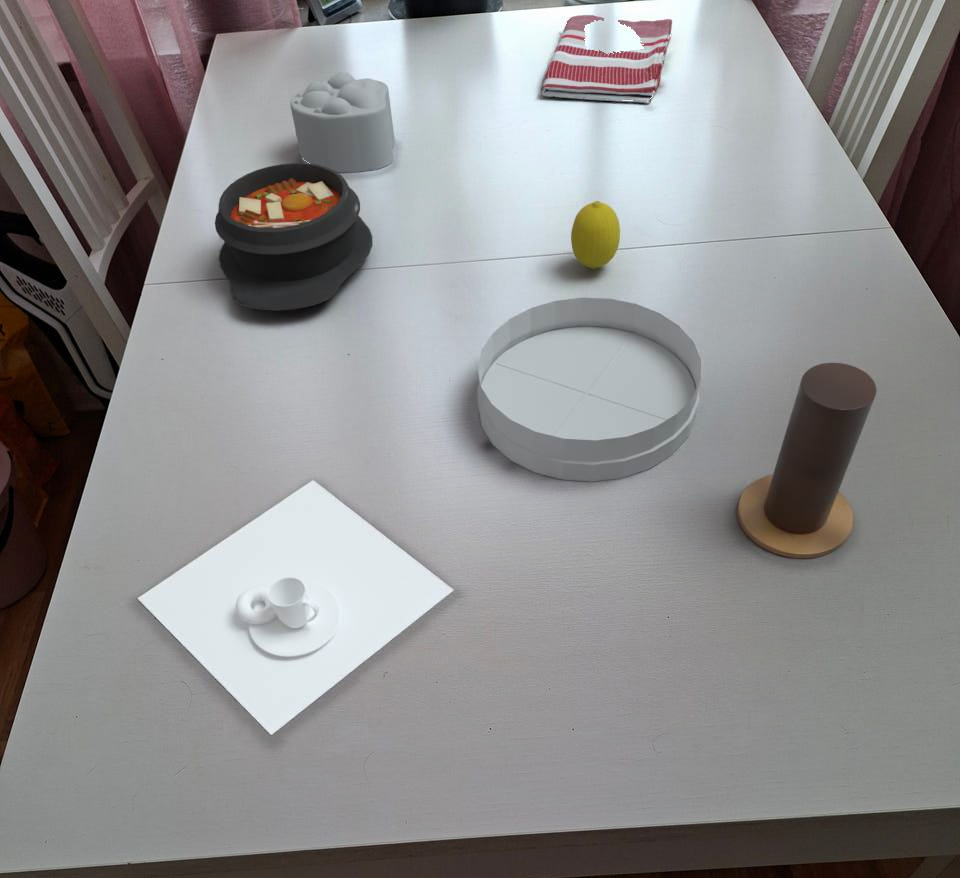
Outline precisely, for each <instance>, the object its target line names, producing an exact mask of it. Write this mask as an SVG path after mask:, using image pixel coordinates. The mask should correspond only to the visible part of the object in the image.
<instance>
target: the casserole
mask: <svg viewBox="0 0 960 878" xmlns="http://www.w3.org/2000/svg"><path fill="white" fill-rule="evenodd" d="M360 211H361V202H360V198H359V196H358V194H357V193H356V192H355V191H354V189H352V188H351V187H350V186H349V184H348V182H347V180H346V179H345V178H344V177H343V175H341V173H337V172H336V171H334V170H332V169H329V168H327V167H324V166H320V165H316V164H307V163H304V162H290V163H280V164H274V165H270V166H266V167H262V168H259V169H256V170H253V171H251V172H249V173H246V174H245V175H243V176H241V177H239V178H237V179H236V180H234V181H233V182H232V183H231V184H229V185H228V186H227V188H225V190H223V192H222V194H221V195H220V198H219V201H218V212H217V213H216V215H215V220H214V227H215V231H216V233H217V235H218V236H219V238H220V239H221V240H222V241H223V244H222V245H221V248H220V250H219V254H218V262H219V267H220V269H221V271H222V273H223V274H224V276H225V278H226V279H227V281H228V283H229V287H230V291H231V295H232V300H234V301H235V302H236V303H238V304H239V305H241V306H243V307H247V308H249V309H254V310H255V309H256V310H260V311H261V310H262V311H288V310H289V311H290V310H297V309H302V308H303V309H304V308H307V307H308V308H309V307H312V306H315V305H318V304H321V303H324V302H325V301H327V300H329V299H330V298H332V297H333V296H334V295H335V294H336V293H337V292H338V290H339V288H340V287H341V286H342V284H343V283H344V282H345V281H346V279H347V278H348V277H349V276H351V275H352V274H353V273H354V272H355V271H356V270H357V269H358V268H359V267H360V266H362V265H363V264H364V263H365V261H366V260H367V258H368V257H369V255H370V253H371V251H372V248H373V235H372V231H371V229H370V228H369V226H368V225H367V224H366V223H365V222H364V220H363V219H362V218H361V217H360V216H359V214H360Z"/></svg>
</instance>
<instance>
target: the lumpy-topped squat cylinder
mask: <svg viewBox="0 0 960 878" xmlns="http://www.w3.org/2000/svg"><path fill="white" fill-rule="evenodd" d="M389 92H390V90H389V86H388V85H387V84H386V83H385V82H383V81H380V80H376V79H373V78H360V79H359V78H358V79H355V78H354V76H353V75H352V74H350V73H348V72H346V71H340V72H337V73H335V74H333V75H332V76H331V77H329V79H328V80H327V81H325V80H315V81H313V82H310V83H309V84H308V85H307V87H306V88H305V89H304V90H301V91H300V92H298V93H296V94H295V95H294V96H293V97H292V98H291V99H290V104H289V107H290V111H291V115H292V121H293V125H294V130H295V135H296V139H297V144H298V149H299V153H300V158H301V161H302V163H307V162H309V163H310V164H316V165H320V166H324V167H327V168H329V169H332V170H334V171H336V172H337V173H339V174H341V173H343V174H344V173H359V172H367V171H376V170H380V169H382V168H385V167H388V166H389V165H391V164H392V162H394V152H393V150H394V148H395V144H396V141H395V140H396V139H395V138H396V137H395V130H394V122H393V116H392V106H391V99H390V98H391V97H390V93H389ZM301 156H302V157H301ZM302 158H304V160H306V161H307V162H306V161H304V160H303V159H302ZM309 163H307V164H309Z"/></svg>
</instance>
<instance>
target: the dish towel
mask: <svg viewBox="0 0 960 878" xmlns="http://www.w3.org/2000/svg"><path fill="white" fill-rule="evenodd" d="M569 18H570V19H569ZM569 18H568V19H569V20H568V19H567V20H568V21H567V20H566V22H567V24H566V23H565V24H566V26H565V25H564V28H563V31H562V34H561V37H560V39H559V41H558V44H557V46H556V48H555V50H554V53H553V55H552V57H551V60H550V63H549V64H548V66H547V68H546V71H545V74H544V77H543V85H542V86H541V90H540V94H541V96H545V97H550V98H551V97H553V96H555V97H553V98H563V99H564V98H565V99H577V100H590V101H610V102H623V103H641V104H642V103H643V104H651V102H652V100H653V99H654V97H655V95H656V94H657V91H658V88H659V87H660V84H661V80H662V79H661V78H662V72H663V71H662V70H663V67H664V65H665V60H666V56H667V54H668V47H669V44H670V40H671V39H672V36H671V37H670V34H671V35H672V29H673V27H672V26H673V20H672V19H671V18H666V19H658V20H657V19H656V20H638V21H631V20H630V21H629V20H624V19H617V20H618V22H620V24H622V25H624V24H625V25H626V26H627V27H628V26H629V27H631V29H633V30H634V31H635V32H636V34H637V35H638V36H639V37H640V38H641V39H640V41H642V42H640V43H641V44H644V45H642V46H643V47H644V49H640V50H630V51H625V52H624V51H620V52H621V53H619V52H617V53H616V52H614V51H613V53H614V54H613V53H610V54H609V53H608V54H609V55H608V54H606V53H604V52H602V51H600V50H599V52H598V51H595V50H590V49H588V50H587V49H586V48H587V47H586V46H585V40H584V39H585V37H586V36H585V31H584V28H585V25H587V24H590V23H591V22H594V20H596V21H598V20H602V21H604V18H605V17H603V16H597V15H594V14H581V15H574V16H570V17H569ZM585 47H586V48H585ZM664 55H665V56H664ZM663 59H664V60H663ZM656 90H657V91H656ZM655 92H656V93H655ZM652 95H654V96H653V97H652ZM651 97H652V98H651ZM583 98H585V99H583ZM650 98H651V99H650ZM603 99H606V100H603ZM607 99H608V100H607ZM622 100H633V101H622ZM647 101H648V102H647Z"/></svg>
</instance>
